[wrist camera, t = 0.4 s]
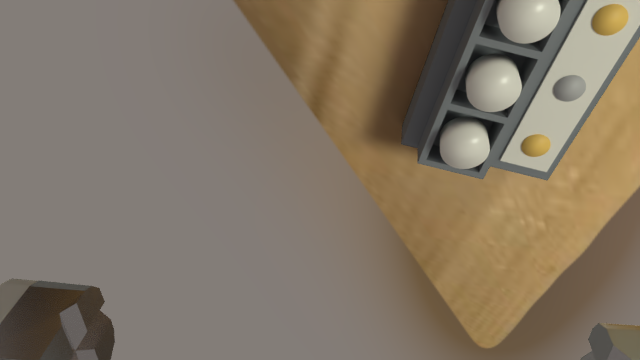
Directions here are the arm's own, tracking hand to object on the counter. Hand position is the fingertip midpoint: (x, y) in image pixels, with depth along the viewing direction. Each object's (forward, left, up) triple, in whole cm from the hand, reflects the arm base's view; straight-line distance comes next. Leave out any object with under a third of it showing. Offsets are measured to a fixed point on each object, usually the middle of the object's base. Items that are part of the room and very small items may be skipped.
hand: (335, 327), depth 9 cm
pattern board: (+12, +14, -39) cm, 43 cm away
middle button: (+12, +11, -34) cm, 38 cm away
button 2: (+6, +11, -34) cm, 36 cm away
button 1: (+18, +11, -34) cm, 40 cm away
